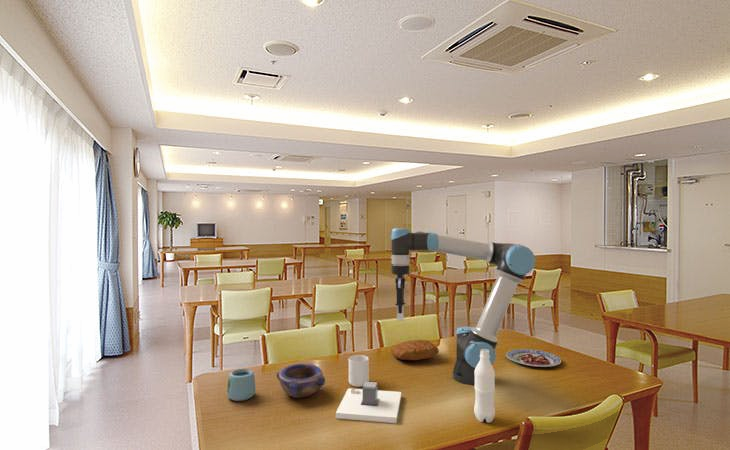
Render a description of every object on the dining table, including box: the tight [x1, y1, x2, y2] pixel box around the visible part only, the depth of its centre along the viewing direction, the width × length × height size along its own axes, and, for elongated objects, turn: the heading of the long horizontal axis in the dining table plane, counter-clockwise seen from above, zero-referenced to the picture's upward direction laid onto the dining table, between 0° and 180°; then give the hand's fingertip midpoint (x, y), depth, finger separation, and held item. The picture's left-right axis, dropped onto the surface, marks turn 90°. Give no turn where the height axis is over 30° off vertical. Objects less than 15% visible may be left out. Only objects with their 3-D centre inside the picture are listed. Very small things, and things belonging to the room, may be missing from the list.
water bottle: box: [473, 349, 496, 424], centre depth 148 cm, size 7×7×25 cm
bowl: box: [276, 362, 326, 399], centre depth 170 cm, size 18×18×10 cm
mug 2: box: [348, 354, 370, 388], centre depth 182 cm, size 12×9×11 cm
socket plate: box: [335, 388, 402, 424], centre depth 158 cm, size 22×22×3 cm
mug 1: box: [226, 368, 257, 402], centre depth 169 cm, size 15×11×10 cm
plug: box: [362, 381, 379, 406], centre depth 158 cm, size 5×5×9 cm
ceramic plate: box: [505, 348, 562, 368], centre depth 210 cm, size 26×26×3 cm
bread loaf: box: [390, 339, 440, 361], centre depth 213 cm, size 22×17×8 cm
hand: (400, 320), depth 174 cm, fingers closed
